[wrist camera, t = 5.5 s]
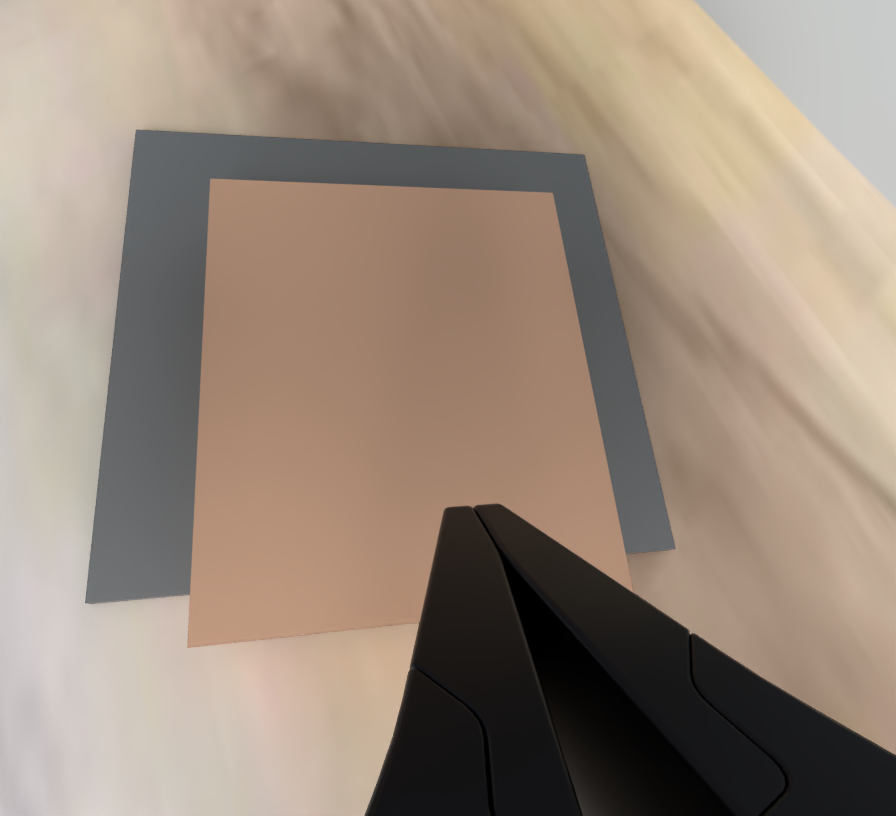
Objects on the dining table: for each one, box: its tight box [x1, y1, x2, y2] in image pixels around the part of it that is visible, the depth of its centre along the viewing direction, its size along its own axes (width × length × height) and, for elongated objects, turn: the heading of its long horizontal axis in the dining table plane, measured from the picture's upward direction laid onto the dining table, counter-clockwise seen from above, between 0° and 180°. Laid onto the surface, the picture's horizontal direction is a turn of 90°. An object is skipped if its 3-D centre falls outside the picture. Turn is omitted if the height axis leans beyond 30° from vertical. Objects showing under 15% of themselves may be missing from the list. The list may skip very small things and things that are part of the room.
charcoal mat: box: [85, 130, 675, 604], centre depth 18 cm, size 15×16×1 cm
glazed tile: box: [187, 179, 633, 648], centre depth 16 cm, size 3×10×12 cm
